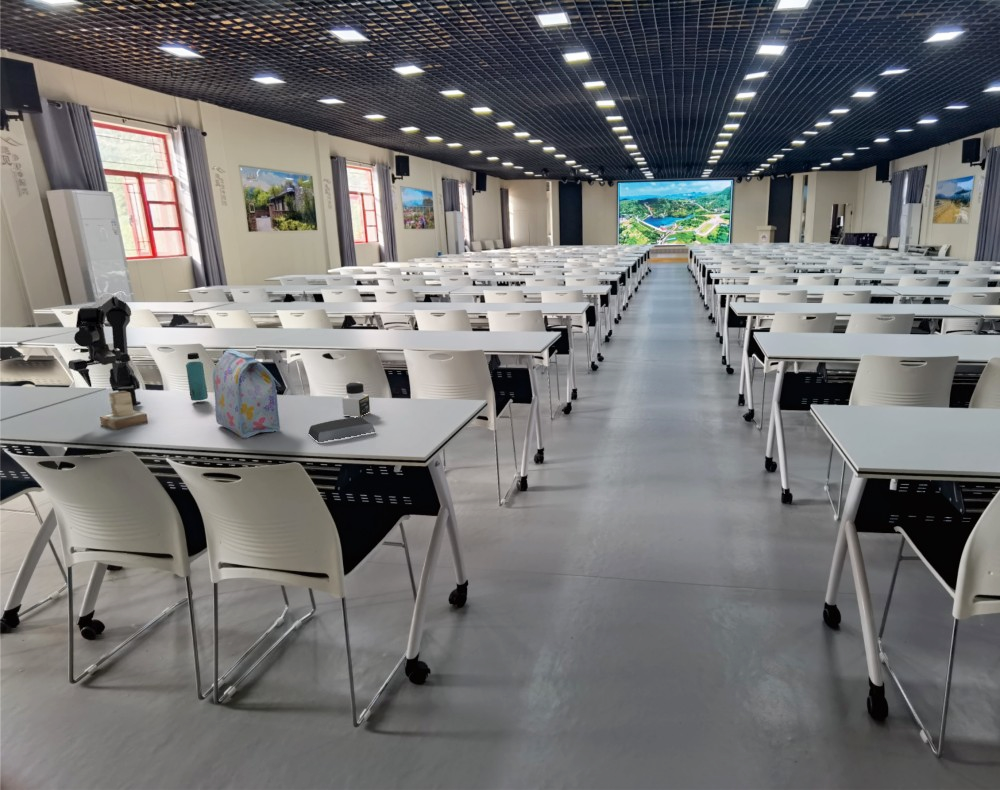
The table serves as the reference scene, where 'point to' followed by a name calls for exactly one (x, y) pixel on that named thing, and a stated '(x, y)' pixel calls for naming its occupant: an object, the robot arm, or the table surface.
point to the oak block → (121, 403)
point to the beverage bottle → (196, 378)
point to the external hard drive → (340, 429)
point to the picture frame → (123, 420)
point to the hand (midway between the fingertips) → (104, 384)
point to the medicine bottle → (355, 400)
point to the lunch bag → (245, 395)
